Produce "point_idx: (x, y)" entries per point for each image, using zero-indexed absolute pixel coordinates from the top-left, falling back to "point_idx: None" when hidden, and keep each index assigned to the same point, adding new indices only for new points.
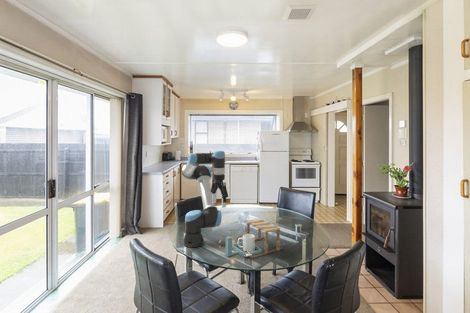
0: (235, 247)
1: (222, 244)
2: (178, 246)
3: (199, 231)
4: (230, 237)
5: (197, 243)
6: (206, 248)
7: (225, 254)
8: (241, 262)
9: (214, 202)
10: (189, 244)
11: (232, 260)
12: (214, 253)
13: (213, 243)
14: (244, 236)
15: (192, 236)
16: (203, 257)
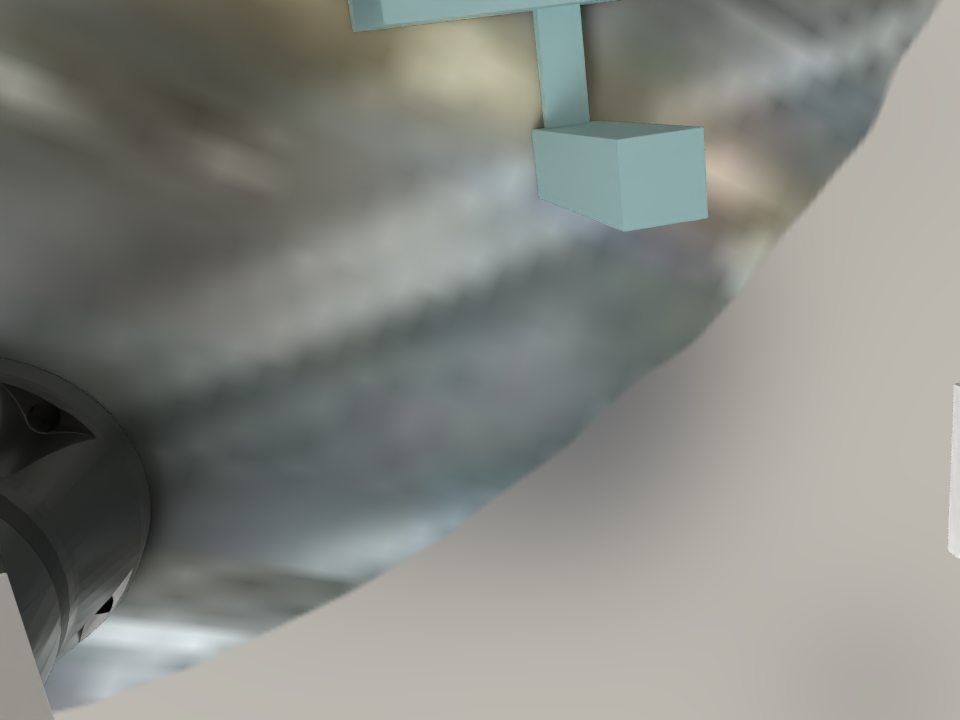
0: (499, 4)
1: (171, 97)
2: None
3: (23, 538)
4: (682, 155)
5: (136, 501)
6: (237, 374)
7: (541, 198)
8: (796, 83)
9: (29, 681)
10: (118, 603)
11: None
12: (432, 316)
13: (83, 223)
14: None
15: (74, 622)
16: (484, 472)
